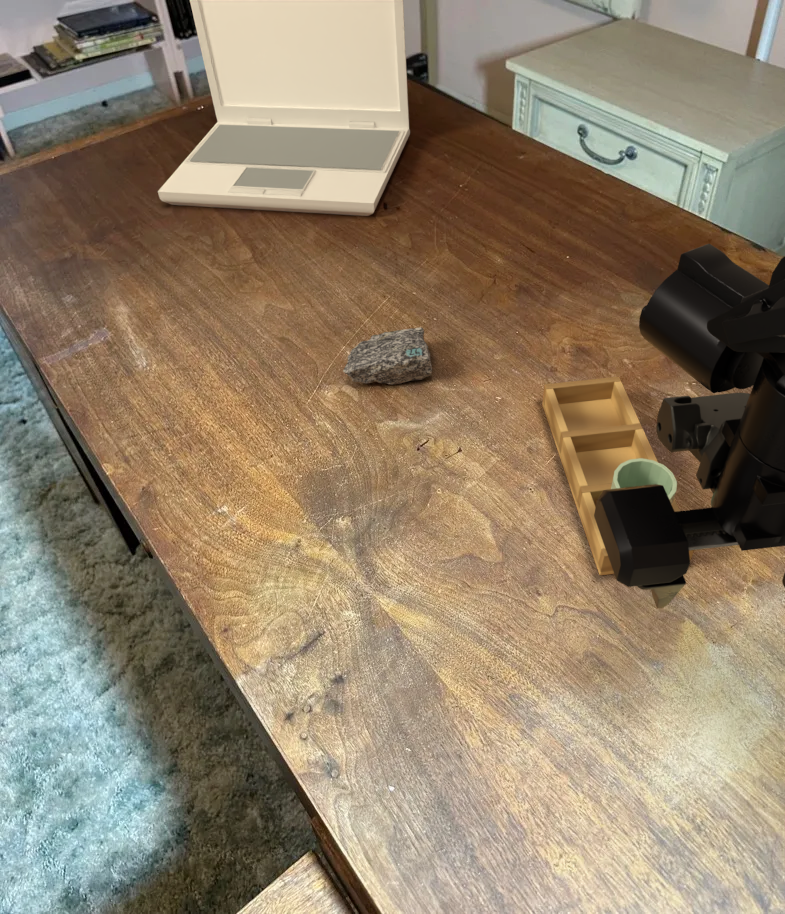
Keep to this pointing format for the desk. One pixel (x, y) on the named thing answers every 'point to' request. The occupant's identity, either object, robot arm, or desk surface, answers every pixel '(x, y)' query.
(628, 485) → the cup
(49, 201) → the desk surface
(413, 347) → the rock
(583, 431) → the rack
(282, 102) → the laptop
